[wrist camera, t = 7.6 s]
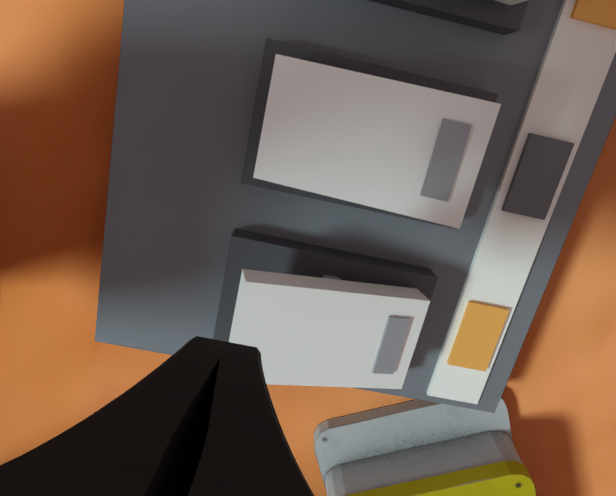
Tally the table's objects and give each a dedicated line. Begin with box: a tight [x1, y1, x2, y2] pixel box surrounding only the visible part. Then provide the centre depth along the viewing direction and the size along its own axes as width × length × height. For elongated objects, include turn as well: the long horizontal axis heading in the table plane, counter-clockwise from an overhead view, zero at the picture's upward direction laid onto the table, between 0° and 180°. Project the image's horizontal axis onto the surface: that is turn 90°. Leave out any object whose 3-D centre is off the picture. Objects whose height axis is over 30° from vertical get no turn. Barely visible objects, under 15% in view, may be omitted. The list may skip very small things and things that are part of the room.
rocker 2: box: [229, 269, 430, 389], centre depth 15 cm, size 6×4×1 cm, turn 77°
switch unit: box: [95, 0, 616, 413], centre depth 16 cm, size 17×20×4 cm
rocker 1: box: [253, 54, 501, 229], centre depth 13 cm, size 6×4×1 cm, turn 78°
